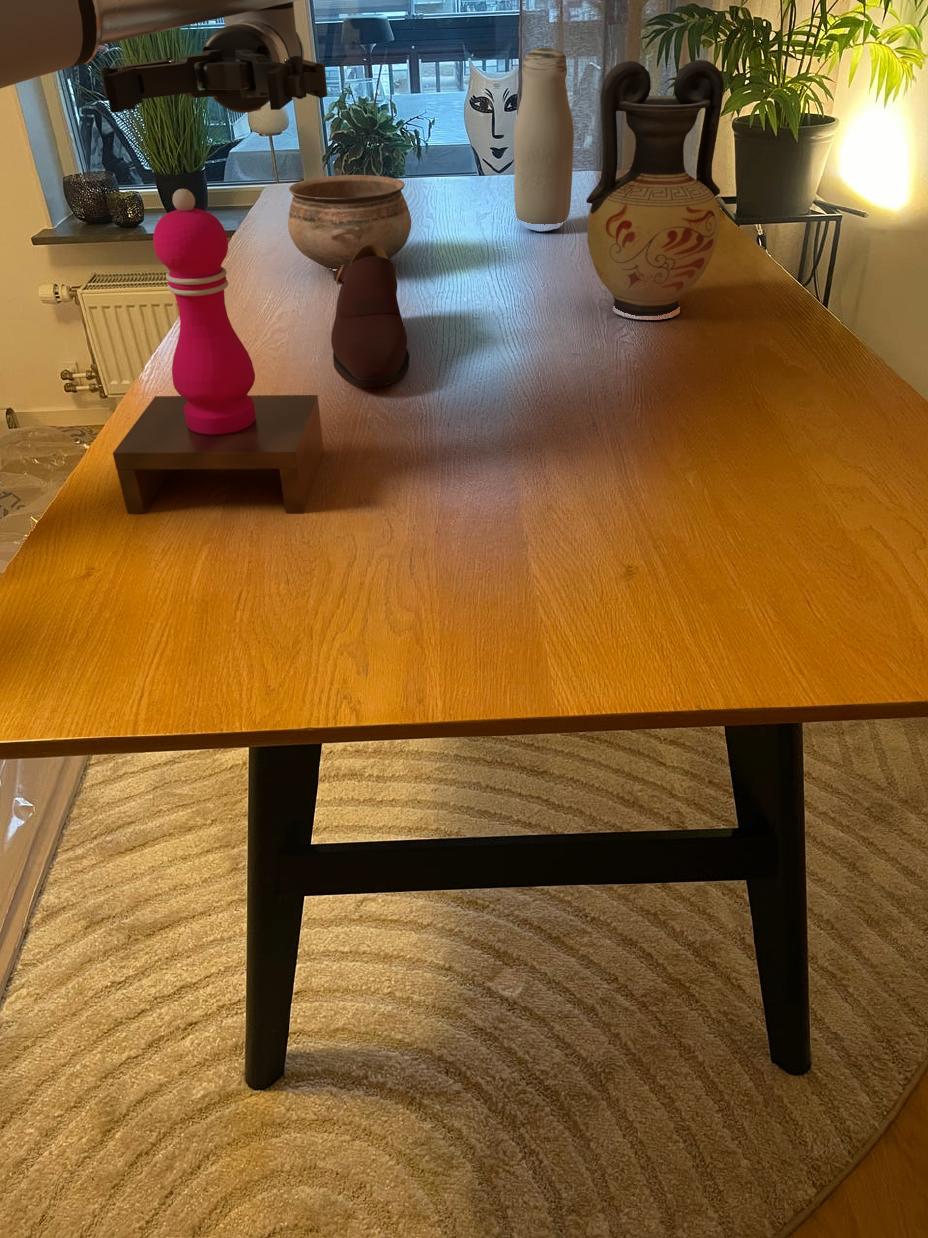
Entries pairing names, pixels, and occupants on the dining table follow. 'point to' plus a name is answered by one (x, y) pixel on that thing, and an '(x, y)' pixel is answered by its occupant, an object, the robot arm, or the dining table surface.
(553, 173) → the tan bottle
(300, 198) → the cooking pot
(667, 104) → the amphora
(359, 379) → the dress shoe
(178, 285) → the pepper mill
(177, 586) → the dining table surface
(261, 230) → the dining table surface
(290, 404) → the shelf
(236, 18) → the robot arm
